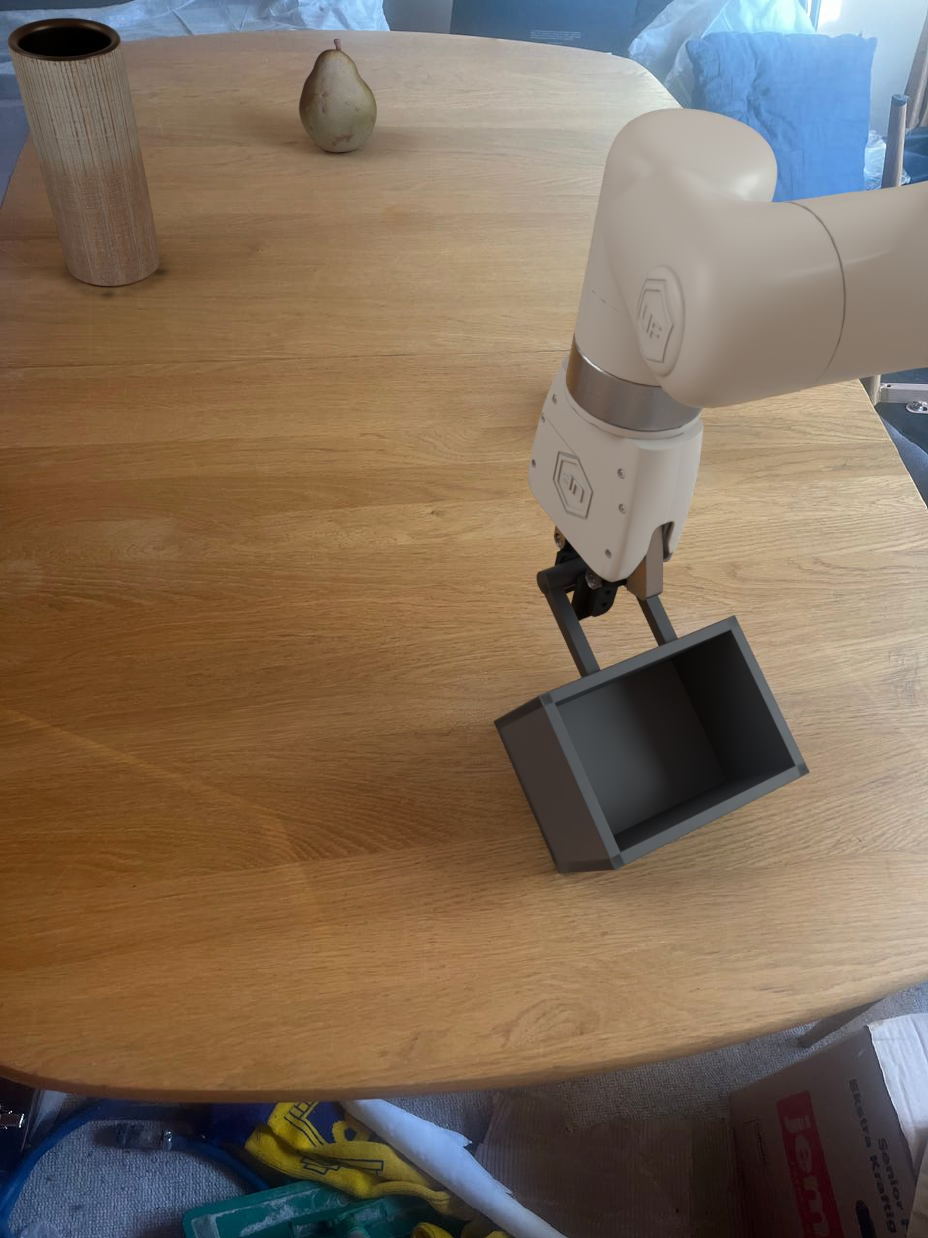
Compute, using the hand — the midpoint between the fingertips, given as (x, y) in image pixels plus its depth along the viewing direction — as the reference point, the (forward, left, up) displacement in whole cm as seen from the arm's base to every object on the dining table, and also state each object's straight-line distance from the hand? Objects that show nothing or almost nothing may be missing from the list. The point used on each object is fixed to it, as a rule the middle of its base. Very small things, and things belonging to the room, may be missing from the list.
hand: (580, 598), depth 64 cm
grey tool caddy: (-4, 0, -7) cm, 8 cm away
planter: (+71, +14, -11) cm, 73 cm away
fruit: (+89, -21, -11) cm, 92 cm away
